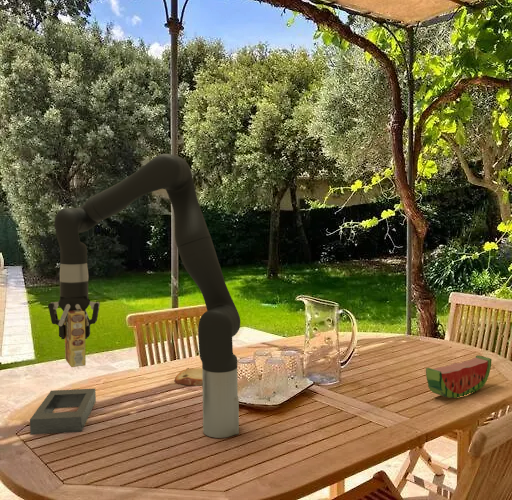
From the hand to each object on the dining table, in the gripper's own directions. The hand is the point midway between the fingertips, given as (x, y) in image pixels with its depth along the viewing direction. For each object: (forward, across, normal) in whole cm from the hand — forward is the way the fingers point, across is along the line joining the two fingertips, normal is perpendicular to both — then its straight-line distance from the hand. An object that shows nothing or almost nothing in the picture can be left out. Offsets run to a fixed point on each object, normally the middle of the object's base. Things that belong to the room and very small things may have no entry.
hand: (74, 338), depth 148 cm
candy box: (+7, 0, 0) cm, 7 cm away
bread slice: (+22, +38, +27) cm, 52 cm away
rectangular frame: (+22, -3, -1) cm, 23 cm away
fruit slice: (+20, +117, +1) cm, 119 cm away
